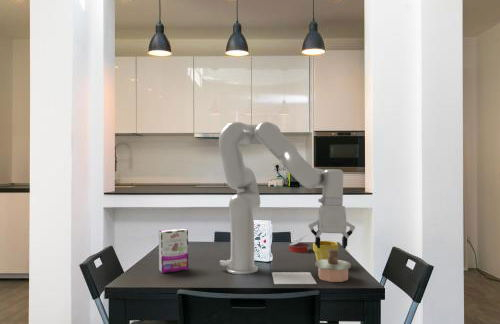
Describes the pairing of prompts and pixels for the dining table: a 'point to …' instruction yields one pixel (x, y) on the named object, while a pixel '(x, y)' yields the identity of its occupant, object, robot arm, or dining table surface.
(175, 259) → the candy bar box
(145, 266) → the dining table surface
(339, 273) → the bowl
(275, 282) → the square white plate
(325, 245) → the plant pot
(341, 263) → the lid
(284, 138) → the robot arm
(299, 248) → the canned food
